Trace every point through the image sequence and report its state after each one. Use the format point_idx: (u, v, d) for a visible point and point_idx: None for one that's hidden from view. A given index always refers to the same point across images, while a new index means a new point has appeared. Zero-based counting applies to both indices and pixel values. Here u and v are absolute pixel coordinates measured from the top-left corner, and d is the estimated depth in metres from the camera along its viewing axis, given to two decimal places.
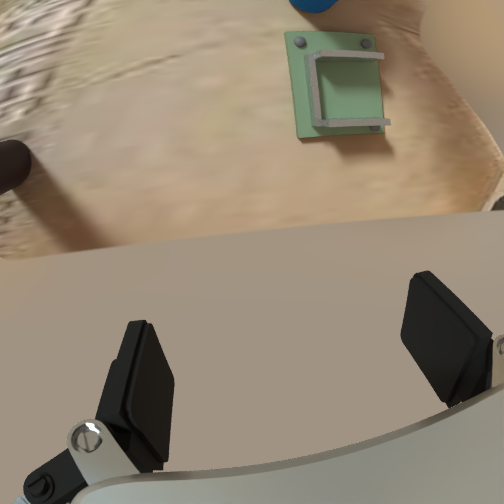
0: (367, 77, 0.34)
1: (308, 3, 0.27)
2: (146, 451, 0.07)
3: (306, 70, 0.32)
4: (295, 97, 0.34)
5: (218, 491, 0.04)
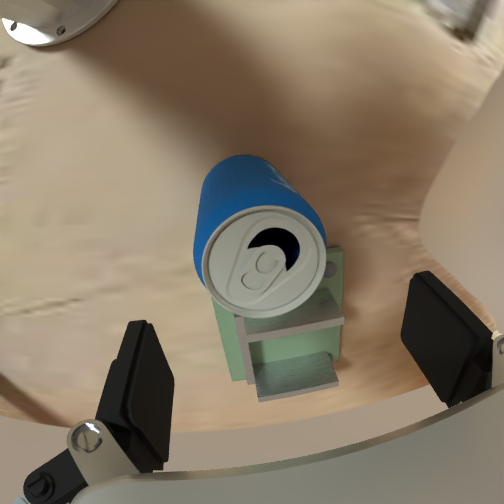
0: None
1: None
2: (146, 451, 0.07)
3: None
4: (225, 348, 0.30)
5: (218, 491, 0.04)
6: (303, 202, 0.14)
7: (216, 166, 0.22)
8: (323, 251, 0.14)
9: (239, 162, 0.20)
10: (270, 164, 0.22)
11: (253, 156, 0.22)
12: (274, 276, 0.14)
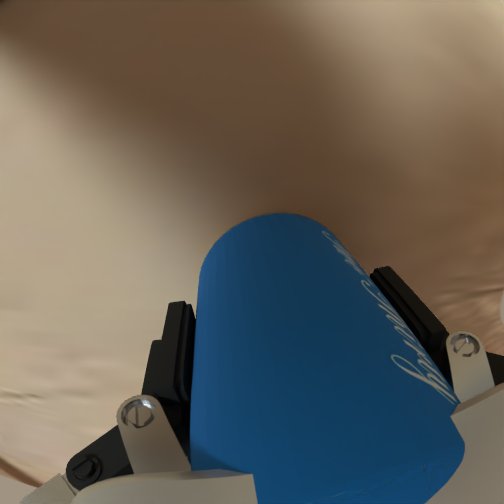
0: None
1: None
2: None
3: None
4: None
5: (218, 491, 0.04)
6: None
7: (227, 238, 0.11)
8: None
9: (280, 247, 0.09)
10: (330, 233, 0.12)
11: (299, 217, 0.12)
12: None
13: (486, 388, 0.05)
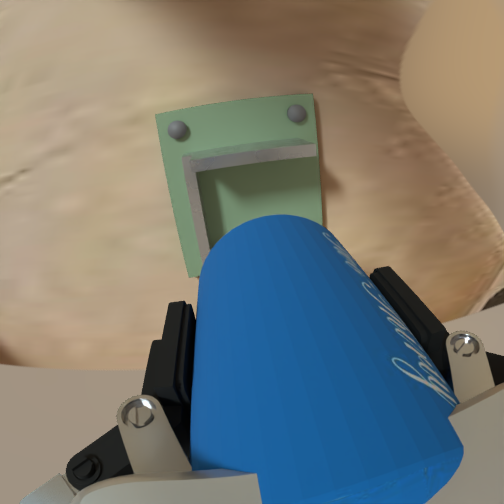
0: (297, 173, 0.24)
1: None
2: None
3: None
4: (177, 222, 0.25)
5: (218, 491, 0.04)
6: None
7: (227, 239, 0.11)
8: None
9: (280, 248, 0.09)
10: (331, 234, 0.12)
11: (299, 218, 0.12)
12: None
13: (486, 388, 0.05)
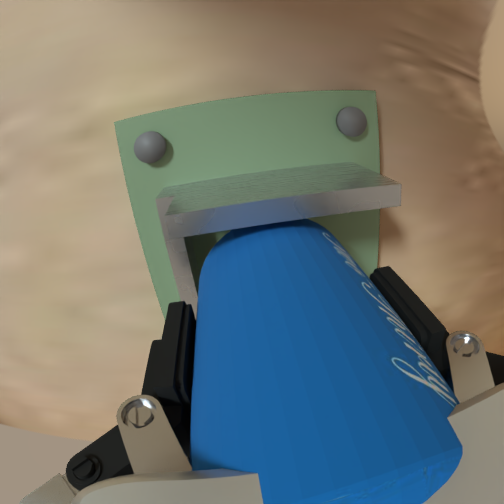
0: (347, 219, 0.15)
1: None
2: None
3: None
4: (158, 292, 0.16)
5: (218, 491, 0.04)
6: None
7: (227, 240, 0.11)
8: None
9: (280, 248, 0.09)
10: (331, 234, 0.12)
11: None
12: None
13: (486, 388, 0.05)
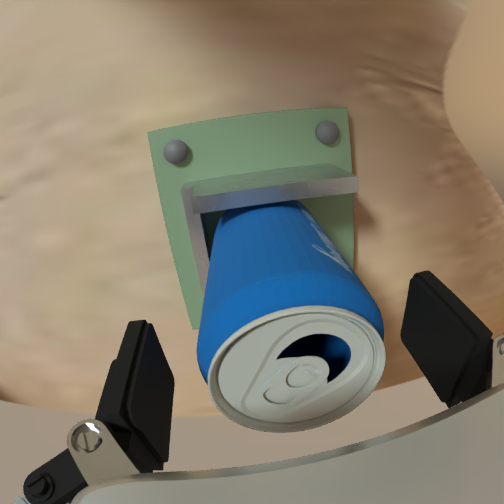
0: (326, 208, 0.19)
1: None
2: (146, 451, 0.07)
3: None
4: (177, 266, 0.20)
5: (218, 491, 0.04)
6: (362, 292, 0.09)
7: None
8: (381, 360, 0.09)
9: (266, 206, 0.15)
10: (304, 206, 0.18)
11: None
12: (310, 390, 0.09)
13: None
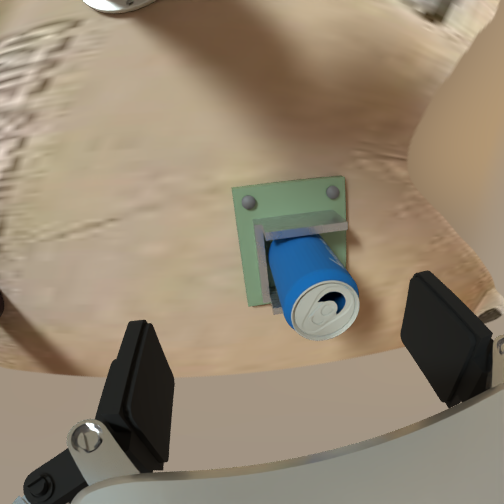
0: (330, 234, 0.34)
1: None
2: (146, 451, 0.07)
3: (255, 240, 0.33)
4: (243, 267, 0.35)
5: (218, 491, 0.04)
6: (349, 276, 0.24)
7: None
8: (357, 304, 0.24)
9: (302, 236, 0.30)
10: None
11: None
12: (329, 317, 0.24)
13: None
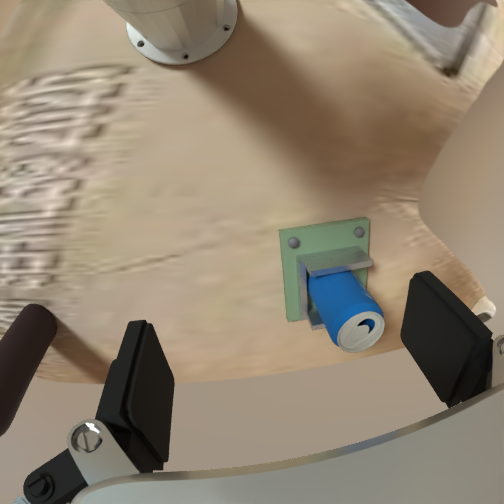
0: None
1: None
2: (146, 451, 0.07)
3: (297, 272, 0.40)
4: (286, 292, 0.43)
5: (218, 490, 0.04)
6: (378, 306, 0.32)
7: None
8: (383, 326, 0.32)
9: None
10: None
11: None
12: (363, 336, 0.32)
13: None
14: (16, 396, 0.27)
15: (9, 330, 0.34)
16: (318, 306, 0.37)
